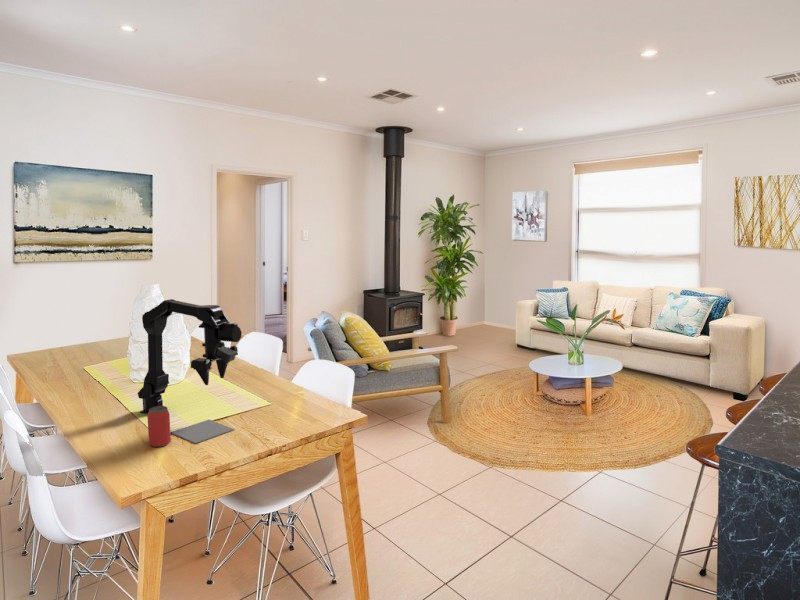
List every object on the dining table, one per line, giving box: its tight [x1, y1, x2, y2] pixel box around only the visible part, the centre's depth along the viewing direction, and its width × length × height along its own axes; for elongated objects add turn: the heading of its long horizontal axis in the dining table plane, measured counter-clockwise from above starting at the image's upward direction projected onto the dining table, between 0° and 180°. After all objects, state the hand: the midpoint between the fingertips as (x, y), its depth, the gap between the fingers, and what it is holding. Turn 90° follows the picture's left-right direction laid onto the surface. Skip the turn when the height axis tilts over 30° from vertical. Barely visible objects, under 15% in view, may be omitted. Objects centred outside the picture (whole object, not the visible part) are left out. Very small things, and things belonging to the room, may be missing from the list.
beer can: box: [146, 405, 172, 448], centre depth 170 cm, size 7×7×12 cm
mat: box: [170, 419, 235, 445], centre depth 181 cm, size 15×15×1 cm
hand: (214, 381), depth 190 cm, fingers open, 9 cm apart
